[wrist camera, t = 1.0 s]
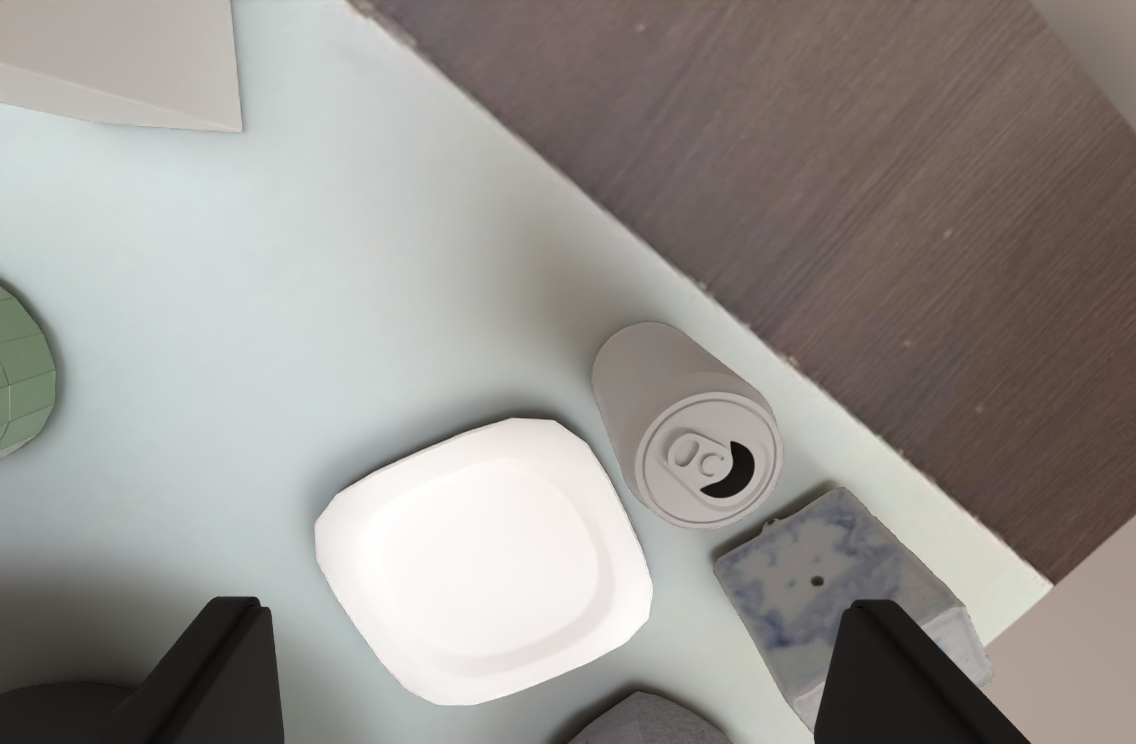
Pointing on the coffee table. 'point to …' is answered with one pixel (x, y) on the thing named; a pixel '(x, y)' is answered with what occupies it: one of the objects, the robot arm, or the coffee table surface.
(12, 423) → the green round dish
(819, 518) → the incense holder
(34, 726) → the bowl
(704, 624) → the coffee table surface
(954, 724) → the robot arm
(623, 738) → the grey rounded bag
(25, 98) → the milk carton
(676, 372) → the beverage can
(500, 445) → the plate
